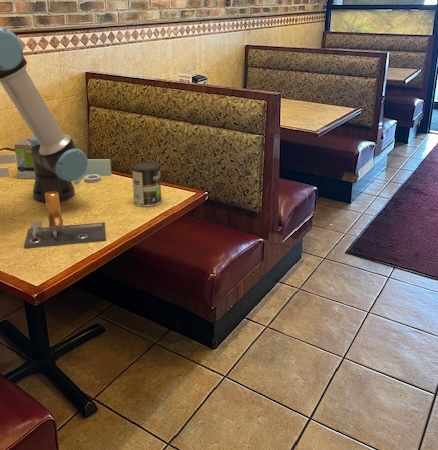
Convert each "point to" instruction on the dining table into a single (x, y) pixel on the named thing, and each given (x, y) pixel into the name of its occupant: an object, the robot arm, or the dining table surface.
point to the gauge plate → (64, 235)
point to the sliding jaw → (54, 212)
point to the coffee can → (146, 183)
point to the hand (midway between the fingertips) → (12, 164)
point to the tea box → (24, 158)
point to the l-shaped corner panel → (96, 170)
